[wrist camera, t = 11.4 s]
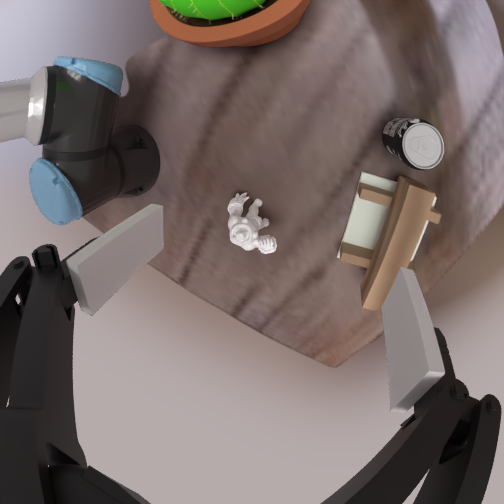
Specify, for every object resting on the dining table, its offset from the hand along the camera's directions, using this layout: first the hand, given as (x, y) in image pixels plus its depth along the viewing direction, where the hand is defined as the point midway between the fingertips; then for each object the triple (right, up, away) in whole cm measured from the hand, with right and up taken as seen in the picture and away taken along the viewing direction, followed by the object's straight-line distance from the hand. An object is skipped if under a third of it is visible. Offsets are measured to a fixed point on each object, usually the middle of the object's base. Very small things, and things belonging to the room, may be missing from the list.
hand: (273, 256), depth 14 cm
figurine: (+1, +8, +35) cm, 35 cm away
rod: (+21, +2, +25) cm, 32 cm away
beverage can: (+22, +18, +22) cm, 36 cm away
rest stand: (+22, +5, +29) cm, 37 cm away
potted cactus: (-1, +41, +17) cm, 44 cm away
